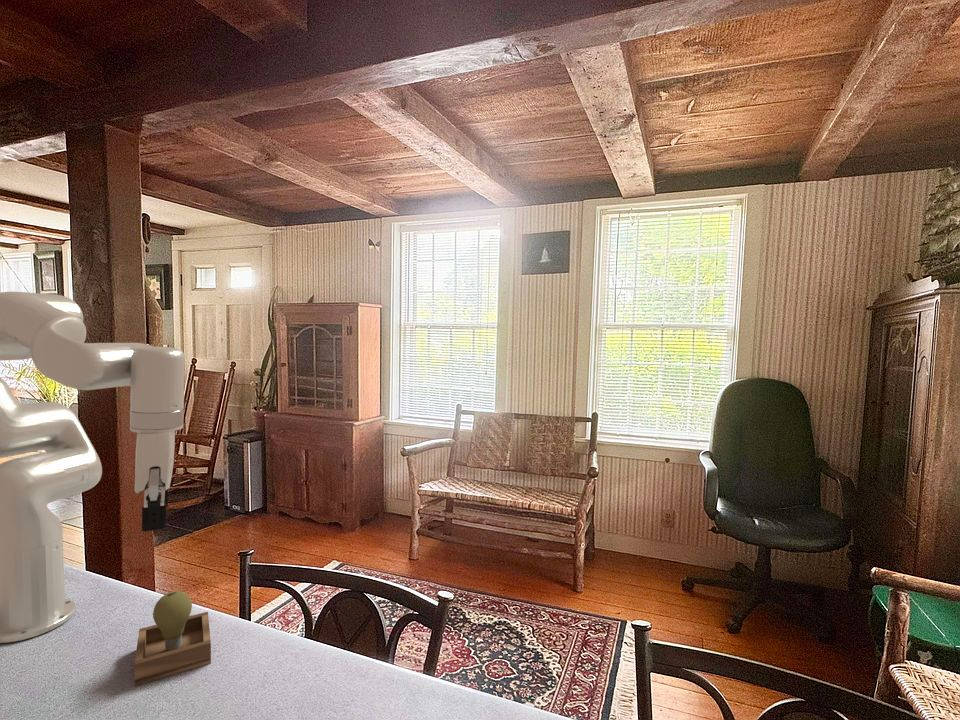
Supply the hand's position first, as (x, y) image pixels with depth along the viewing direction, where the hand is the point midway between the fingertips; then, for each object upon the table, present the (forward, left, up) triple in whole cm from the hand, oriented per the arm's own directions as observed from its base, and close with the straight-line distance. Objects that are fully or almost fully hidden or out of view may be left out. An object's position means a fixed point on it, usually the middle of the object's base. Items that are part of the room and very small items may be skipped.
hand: (155, 518), depth 82 cm
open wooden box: (+3, +2, -23) cm, 24 cm away
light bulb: (+3, +2, -23) cm, 23 cm away
